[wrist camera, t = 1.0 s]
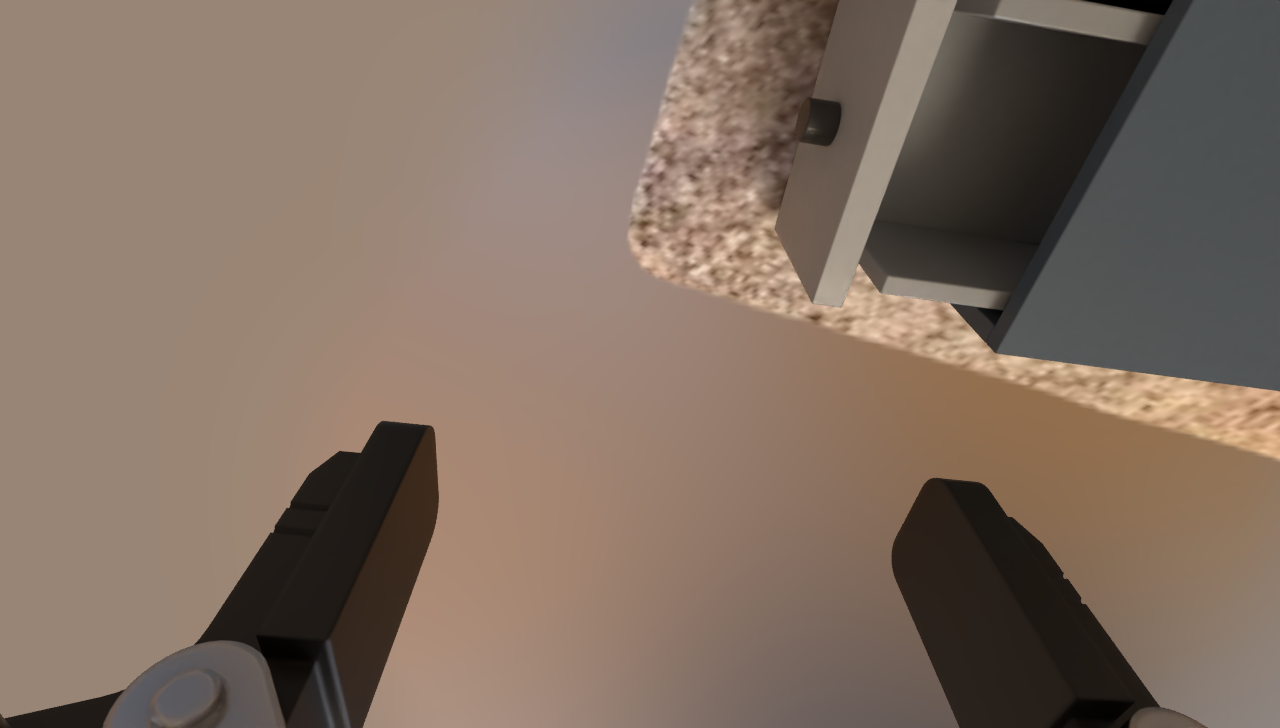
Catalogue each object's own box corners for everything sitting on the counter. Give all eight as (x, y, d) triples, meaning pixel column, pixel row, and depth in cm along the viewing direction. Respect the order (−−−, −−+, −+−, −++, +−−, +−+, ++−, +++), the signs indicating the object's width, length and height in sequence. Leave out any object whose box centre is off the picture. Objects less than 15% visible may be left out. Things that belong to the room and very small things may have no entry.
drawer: (749, 225, 29) (780, 300, 23) (823, -59, 23) (894, -68, 17) (1034, 266, 30) (1140, 349, 24) (1177, 7, 24) (1374, 23, 18)
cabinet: (903, 253, 31) (994, 354, 23) (1025, -39, 24) (1215, -39, 16) (1165, 291, 32) (1338, 399, 24) (1352, 23, 25) (1681, 51, 17)
